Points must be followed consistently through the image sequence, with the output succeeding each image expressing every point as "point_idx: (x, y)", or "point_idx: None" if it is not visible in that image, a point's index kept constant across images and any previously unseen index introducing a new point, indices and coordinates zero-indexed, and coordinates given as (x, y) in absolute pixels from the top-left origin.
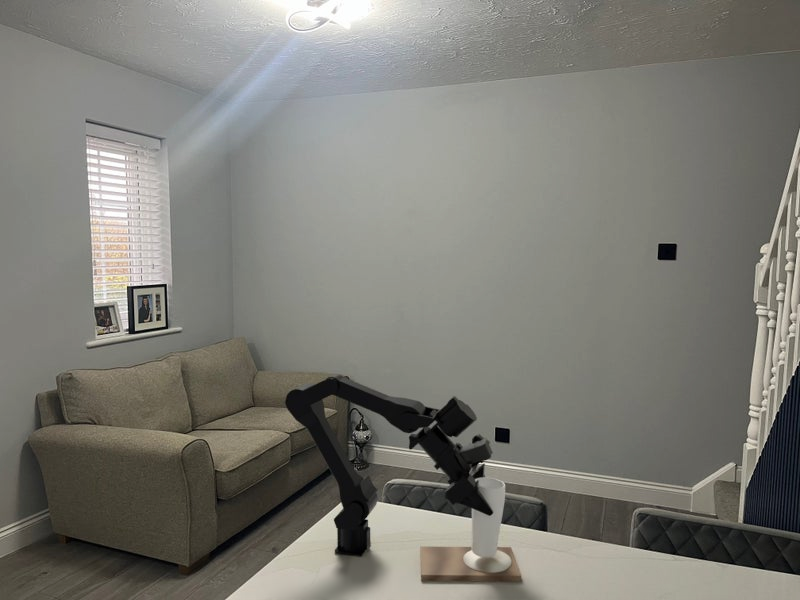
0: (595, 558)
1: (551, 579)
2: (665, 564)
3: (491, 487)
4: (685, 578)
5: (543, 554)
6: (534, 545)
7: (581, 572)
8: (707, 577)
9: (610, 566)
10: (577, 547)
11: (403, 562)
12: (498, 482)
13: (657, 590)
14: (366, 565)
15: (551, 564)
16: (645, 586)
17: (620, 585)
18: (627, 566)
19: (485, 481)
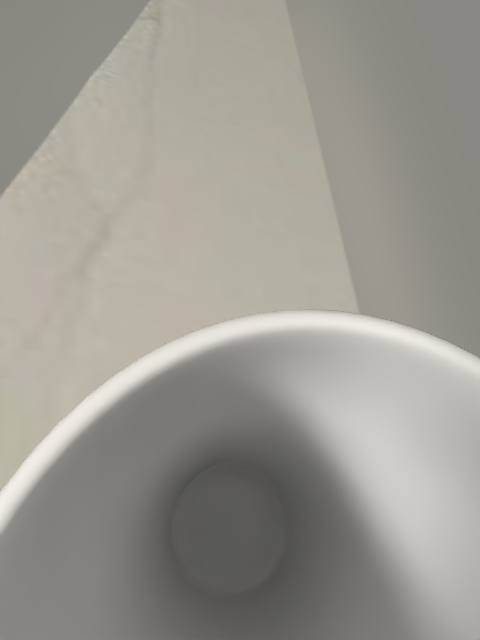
0: (154, 158)
1: (283, 290)
2: (180, 42)
3: (58, 552)
4: (239, 35)
5: (128, 284)
6: (59, 302)
7: (235, 208)
8: (230, 5)
9: (197, 139)
10: (84, 182)
11: None
12: (112, 424)
13: (295, 92)
14: None
15: (194, 273)
16: (283, 105)
17: (287, 146)
18: (194, 107)
19: None
